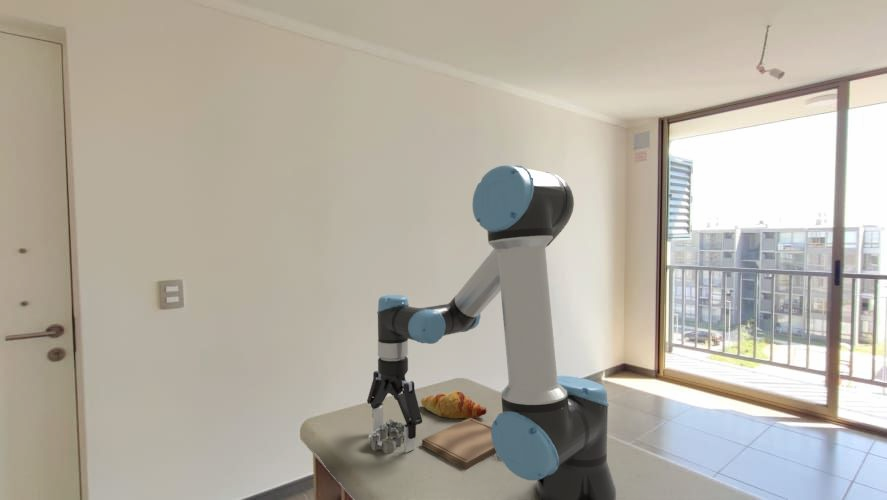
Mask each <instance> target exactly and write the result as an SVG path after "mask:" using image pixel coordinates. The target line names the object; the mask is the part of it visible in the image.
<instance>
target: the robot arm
mask: <svg viewBox="0 0 887 500" xmlns="http://www.w3.org/2000/svg"><path fill="white" fill-rule="evenodd" d="M472 196H473V197H472V213H473V216H474V219H475V221H476V222H477V223H478V224H479V226H480V227H482V228H483V229H485V230H486V231H487V241H488V242H487V243H488V245H489V246H491V247H492V248H493V250H492V251H491V252H490V253H489V254H488V256H487V257H486V258H485V259H484V261H483V262H482V263H481V264H480V266H478V268H477V269H476V270H475V272H474V273H473V274H471V276H470V278H469V279H468V280H467V281H466V283H465V284H463V286H462V287H461V289H460V290H459V291H458V292H457V294H456V295H455V296H454V297H453V298H452V299H451V300H450V301H449V302H448V303H446V304H445V303H444V304H438V305H433V306H426V307H415V306H414V307H413V306H410V305H409V299H408V297H407V296H405V295H402V294H390V295H389V294H387V295H383V296H380V297H379V299H378V302H377V303H378V305H377V308H378V309H377V312H376V313H377V337H378V338H377V356H378V359H377V370H375V371H373V374H372V375H373V378H372V381H371V386H370V388H369V393H368V396H367V399H366V402H367V404H368V405H369V404H370V407H371V408H372V432H374V431H375V430H376V429H378V428H379V427H380V426H383V425H384V406H382V405H384V404H383V402H384V401H385V399H386V398H387V396H388V394H390V395H391V396H393V398H394V400H395V401H397V403H398V406H399V408H400V411H401V413H402V416H403V419H404V421H405V423H404V424H405V425H404V440H403V451H404V453H409V452H411V451H413V450H415V449H416V448H415V447H416V443H415V442H416V440H415V439H416V436H417V426H418V425H420V424H422V423H423V417H422V414H421V410H420V406H419V402H418V399H417V395H416V390H415V382H414V381H413V380H412V381H407V380H406V374H407V372H408V371H409V358H408V357H407V356H408V355H409V349H408V347H409V344H408V343H409V341H408V340H412V341H416V342H417V343H420V344H428V345H429V344H430V345H433V344H436V343H438V342H439V341H440V340H441V339H443V337H445V336H448V335H452V334H458V333H465V332H466V333H467V332H468V331H470V330H473V329H475V328H477V326H478V325H479V324H480V319H481V313H482V312H483V311H484V310H485V309H486V307H487V306H488V305H490V303H491V302H492V301H493V300H494V299H495V298H496V297H497V295H498V294H499V293H500V294H501V307H502V309H501V310H502V318H503V319H502V320H503V329H504V330H503V333H504V344H505V355H506V364H507V365H506V367H507V368H506V369H507V376H508V377H507V378H508V383H507V385H506V387H505V388H504V389H503V390H501V393H500V397H501V408H502V412H501V413H498V414H497V416H496V417H495V419H494V420H493V422H492V424H491V426H492V428H491V437H492V442H493V445H494V448H495V451H496V453H495V454H497V456H498V459H500V461H501V462H503V464H504V465H505V467H506V468H507V469H508V470H509V471H510V472H511V473H513V474H514V475H516V476H517V477H519V478H521V479H524V480H526V481H536V491H537V494H538V496H539V498H540V499H541V500H617V489H616V486H615V483H614V480H613V476H612V473H611V469H610V466H609V463H608V454H607V452H608V417H609V413H608V409H609V408H608V407H609V402H608V392H607V389H606V388H605V387H604V386H603V385H602V384H600V383H598V382H595V381H593V380H590V379H587V378H582V377H577V376H569V375H558V371H557V361H556V351H555V339H554V329H553V319H552V308H551V307H552V306H551V297H550V295H551V294H550V284H549V273H548V264H547V254H546V249H547V247H548V246H550V244H551V243H553V242H554V240H555V239H556V238H557V237H558V236H559V235H560V234H561V232H563V230H564V229H565V227H566V226H567V225H568V223H569V221H570V219H571V217H572V214H573V211H574V208H575V207H574V206H575V203H574V202H575V201H574V195H573V191H572V189H571V187H570V186H569V185H568V183H567V181H566V180H565V179H563V178H562V177H561V176H559V175H557V174H555V173H552V172H548V171H547V172H546V171H539V170H535V169H532V168H526V167H524V166H521V165H507V164H506V165H499V166H496V167H494V168H492V169H490V170H489V171H488V172H486V173H485V174H484V175H483V176H482V177H481V181H480V182H479V183H477V185H476V187H475V190H474V193H473V195H472Z"/></svg>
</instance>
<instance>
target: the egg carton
mask: <svg viewBox="0 0 887 500" xmlns="http://www.w3.org/2000/svg"><path fill="white" fill-rule="evenodd" d="M405 424H406V423H404V424H403V423H402V422H399V421H394V420H393V419H391V418H389V420H387V422H385V424H383V426H380V427H379V428H378V429H376V430H375V431H374V432H373V431H370V433H369V434H368V438H367V440H369V441H370V447H371V450H372V451H377V450H382V451H383V453H384V454H389V453H394V452H395V451H396V449H397V447H401V446H403V443H404V425H405ZM388 435H389V440H384V439H387V438H388ZM381 440H383V441H381Z"/></svg>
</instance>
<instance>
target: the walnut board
mask: <svg viewBox="0 0 887 500" xmlns="http://www.w3.org/2000/svg"><path fill="white" fill-rule="evenodd" d="M491 428H492V425H489V424H487V423H484V422H482V421H479V420H477V419H476V418H466V419H464V420H462V421H460V422H458V423H456V424H453V425H451V426H449V427H447V428H444V429H441V430H440V431H438V432H436V433H433V434H431V435H429V436H427V437H424V438H422V439H421V445H422V447H424V448H426V449H428V450H430V451H432V452H434V453H435V454H437V455H439V456H441V457H443V458H445V459H447V460H449V461H450V462H452V463H454V464H455V465H458V466H460V467H461V468H463V469H465V470H467V469H469V468H471V467H473V466H474V465H476V464H478V463H480V462H482V461H483V460H485V459H487V458H489V457H490V456H492V455H494V454H497V453H496V451H495V448H494V445H493V442H492V437H491Z"/></svg>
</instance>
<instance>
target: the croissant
mask: <svg viewBox="0 0 887 500" xmlns="http://www.w3.org/2000/svg"><path fill="white" fill-rule="evenodd" d="M420 404H421V405H422V406H423V407H424V408H425V409H426V410H427V411H429V412H431V413H432V414H434V415H436V416H439V417H440V418H441V417H442V418H448V419H455V420H457V419H469V418H472V419H476V418H480V417H482V416H485V415H486V414H487V411H488V410H487V407H485V406H481V405H480V404H479V403H477V402H474V401H472V399H471V398H470V396H466V395H465V394H464V393H463V392H462V391H460V390H454V391H450V392H449V393H448V392H447V393H446V392H445V393H438V394H436V395H429V396H426V397H424V398H421V400H420Z"/></svg>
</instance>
